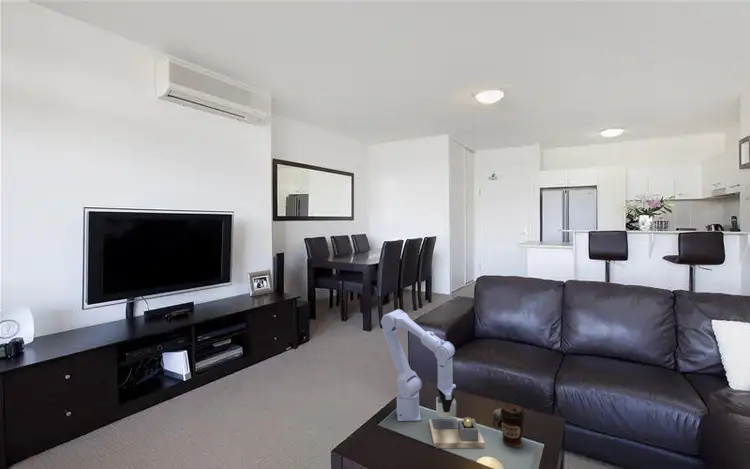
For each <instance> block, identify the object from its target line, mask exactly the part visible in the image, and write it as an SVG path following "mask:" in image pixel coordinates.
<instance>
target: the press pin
mask: <svg viewBox="0 0 750 469" xmlns="http://www.w3.org/2000/svg"><path fill="white" fill-rule="evenodd" d="M463 419H464V428H472V419H473V418H471V417H468V416H466V417H464V418H463Z"/></svg>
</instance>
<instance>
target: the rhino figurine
mask: <svg viewBox="0 0 750 469" xmlns="http://www.w3.org/2000/svg"><path fill="white" fill-rule="evenodd" d="M502 408H503V407H501V408H497V409H495V410H493V412H492V416H493V423H494V422H495V423H494V427H495V428H499V427H498V426H500V425H499V422H500V421H501V409H502Z"/></svg>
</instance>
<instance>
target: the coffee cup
mask: <svg viewBox="0 0 750 469" xmlns="http://www.w3.org/2000/svg"><path fill="white" fill-rule="evenodd" d="M501 408H502V409H501ZM501 408H500V409H501V420H500V421H501V432H502V441H503V443H504V444H505V445H507V446H509V447H511V448H512V447H513V448H519V447H522V437H523V432H524V419H525V418H526V413H525V411H524V408H523V407H521V405H518V404H513V403H507V404H504V405H502V407H501Z"/></svg>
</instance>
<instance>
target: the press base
mask: <svg viewBox="0 0 750 469" xmlns="http://www.w3.org/2000/svg"><path fill="white" fill-rule="evenodd" d="M471 419H472V428H464V418H429V419H428V425H429V429H430V435H431V439H432V444H433V447H436V448H435V449H485V447H486V446H485V443H486V442H485V440H484V438H483V436H482V434H481V431H480V429H479V427H478V425H477V423H476V420H475V418H471Z"/></svg>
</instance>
